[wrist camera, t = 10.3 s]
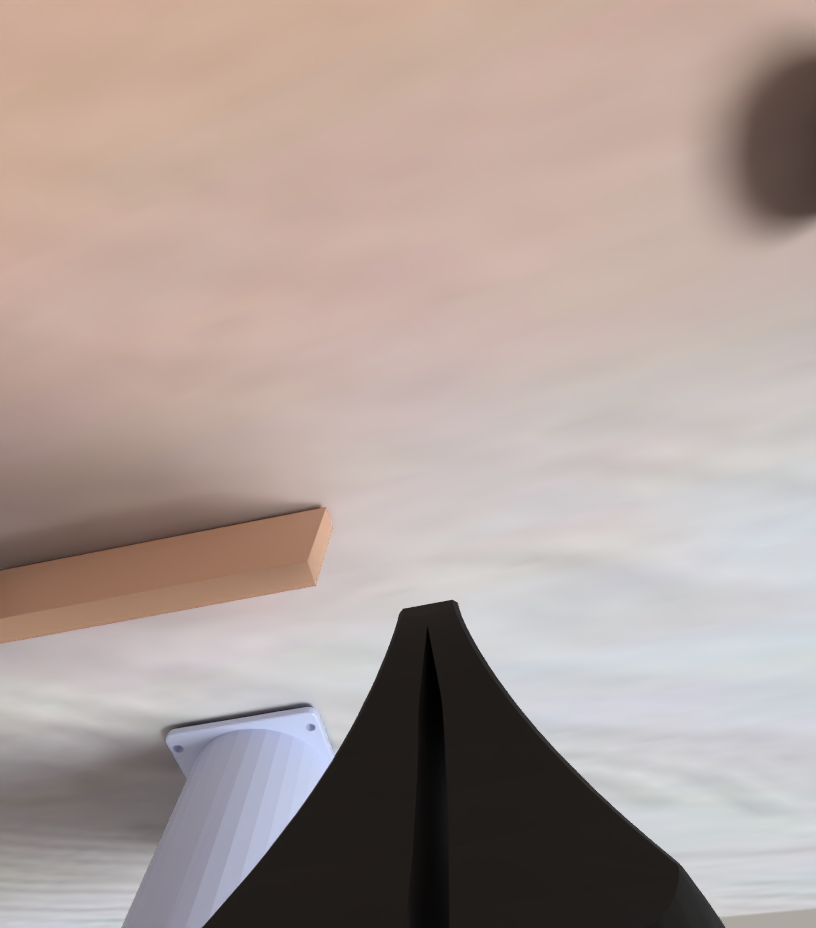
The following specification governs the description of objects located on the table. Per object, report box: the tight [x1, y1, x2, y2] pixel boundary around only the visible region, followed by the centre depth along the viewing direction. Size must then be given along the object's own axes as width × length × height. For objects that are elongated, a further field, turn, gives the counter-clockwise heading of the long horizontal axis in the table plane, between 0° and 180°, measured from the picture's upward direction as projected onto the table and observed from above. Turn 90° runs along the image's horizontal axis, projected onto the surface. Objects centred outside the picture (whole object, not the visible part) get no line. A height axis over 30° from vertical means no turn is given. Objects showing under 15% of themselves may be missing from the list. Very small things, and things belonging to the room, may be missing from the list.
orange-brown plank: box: [0, 507, 333, 644], centre depth 18 cm, size 1×15×4 cm, turn 102°
